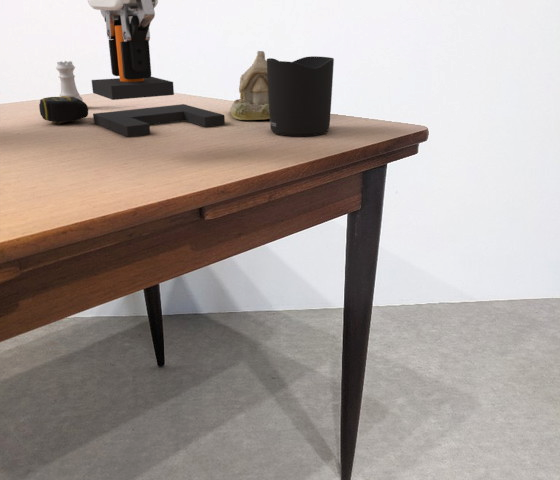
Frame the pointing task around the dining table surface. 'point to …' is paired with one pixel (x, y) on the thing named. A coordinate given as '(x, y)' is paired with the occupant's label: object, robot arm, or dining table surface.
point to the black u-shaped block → (155, 118)
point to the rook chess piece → (67, 80)
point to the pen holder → (300, 95)
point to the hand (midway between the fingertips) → (131, 75)
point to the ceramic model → (253, 92)
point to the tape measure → (62, 109)
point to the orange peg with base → (130, 81)
